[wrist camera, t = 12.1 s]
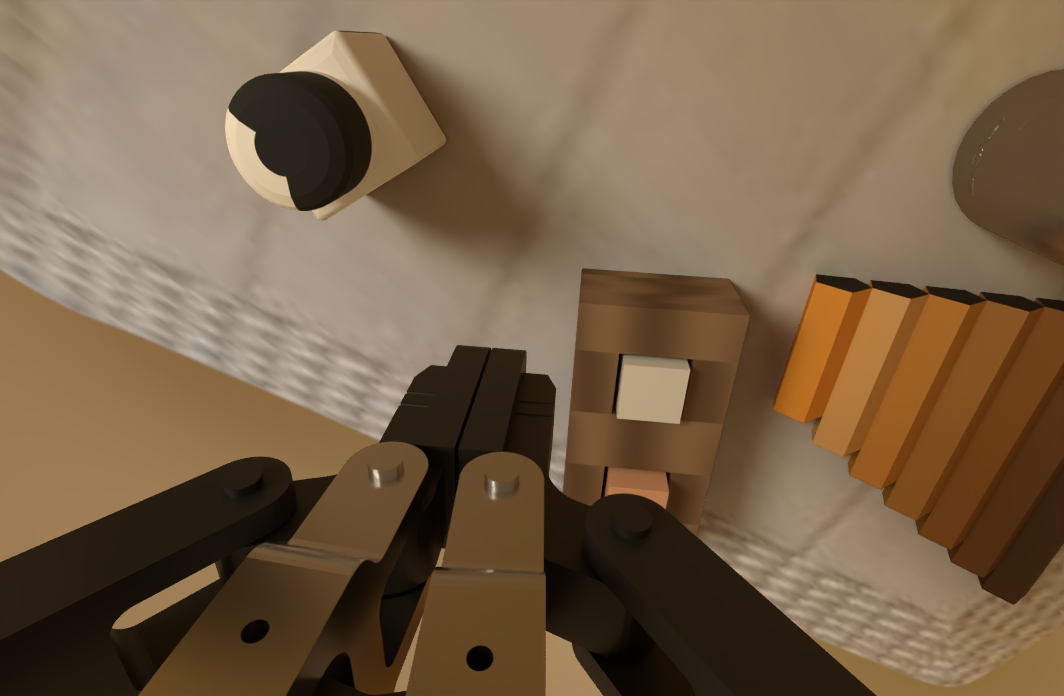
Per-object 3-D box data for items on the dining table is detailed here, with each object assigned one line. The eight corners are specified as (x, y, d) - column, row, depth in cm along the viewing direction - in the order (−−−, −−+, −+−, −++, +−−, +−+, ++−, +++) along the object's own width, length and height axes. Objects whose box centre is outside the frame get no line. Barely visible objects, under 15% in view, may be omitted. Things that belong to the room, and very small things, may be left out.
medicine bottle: (383, 30, 34) (287, 23, 23) (449, 141, 36) (390, 180, 26) (295, 94, 36) (171, 115, 25) (363, 195, 39) (276, 251, 28)
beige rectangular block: (678, 330, 39) (690, 370, 35) (669, 379, 41) (679, 423, 36) (620, 325, 40) (624, 364, 35) (614, 375, 42) (616, 418, 37)
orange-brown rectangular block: (660, 441, 43) (669, 492, 38) (653, 482, 45) (660, 535, 40) (607, 437, 43) (609, 486, 38) (602, 477, 45) (603, 529, 40)
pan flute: (1009, 573, 49) (1191, 311, 37) (1036, 607, 46) (1243, 334, 34) (719, 536, 50) (805, 270, 39) (727, 567, 47) (823, 289, 36)
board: (729, 279, 39) (749, 315, 34) (680, 500, 48) (691, 556, 43) (581, 268, 39) (579, 302, 34) (563, 488, 49) (559, 542, 44)
